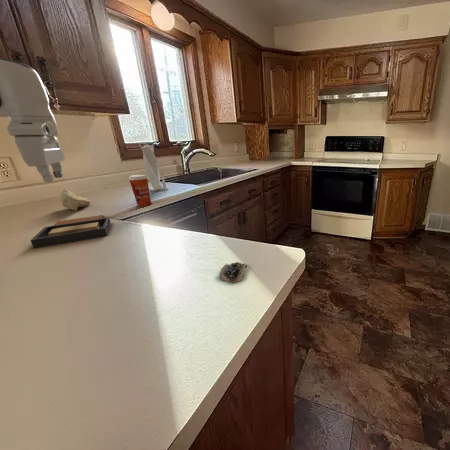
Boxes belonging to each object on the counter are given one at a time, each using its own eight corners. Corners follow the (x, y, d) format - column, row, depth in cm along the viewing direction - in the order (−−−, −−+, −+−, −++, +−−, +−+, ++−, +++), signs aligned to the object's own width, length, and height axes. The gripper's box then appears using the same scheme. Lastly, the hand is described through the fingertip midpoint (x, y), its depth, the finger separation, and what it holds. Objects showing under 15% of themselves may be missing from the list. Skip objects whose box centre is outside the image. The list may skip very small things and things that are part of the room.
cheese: (74, 209, 120) (39, 195, 106) (84, 196, 122) (51, 182, 108) (94, 221, 116) (60, 209, 102) (104, 208, 118) (72, 195, 104)
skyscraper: (153, 192, 146) (142, 142, 136) (146, 190, 150) (135, 142, 141) (167, 189, 153) (157, 142, 143) (160, 188, 157) (150, 142, 147)
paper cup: (140, 208, 112) (132, 177, 108) (132, 205, 116) (124, 176, 111) (157, 204, 119) (150, 175, 114) (148, 202, 122) (142, 174, 118)
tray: (33, 248, 72) (30, 240, 71) (47, 234, 83) (45, 226, 82) (107, 235, 81) (104, 228, 80) (111, 224, 92) (109, 217, 91)
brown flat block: (50, 230, 86) (50, 228, 86) (58, 222, 95) (57, 221, 94) (100, 222, 93) (99, 221, 93) (103, 216, 101) (102, 214, 101)
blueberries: (246, 263, 61) (245, 256, 61) (251, 279, 54) (251, 272, 53) (218, 268, 59) (217, 261, 58) (220, 286, 52) (219, 278, 51)
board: (50, 239, 77) (47, 233, 76) (54, 234, 81) (52, 228, 80) (97, 231, 83) (96, 226, 82) (99, 227, 87) (98, 222, 86)
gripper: (34, 130, 74) (51, 176, 78) (2, 127, 57) (26, 186, 62) (62, 130, 77) (76, 174, 81) (39, 127, 60) (59, 183, 65)
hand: (54, 179), depth 72 cm, fingers open, 8 cm apart
